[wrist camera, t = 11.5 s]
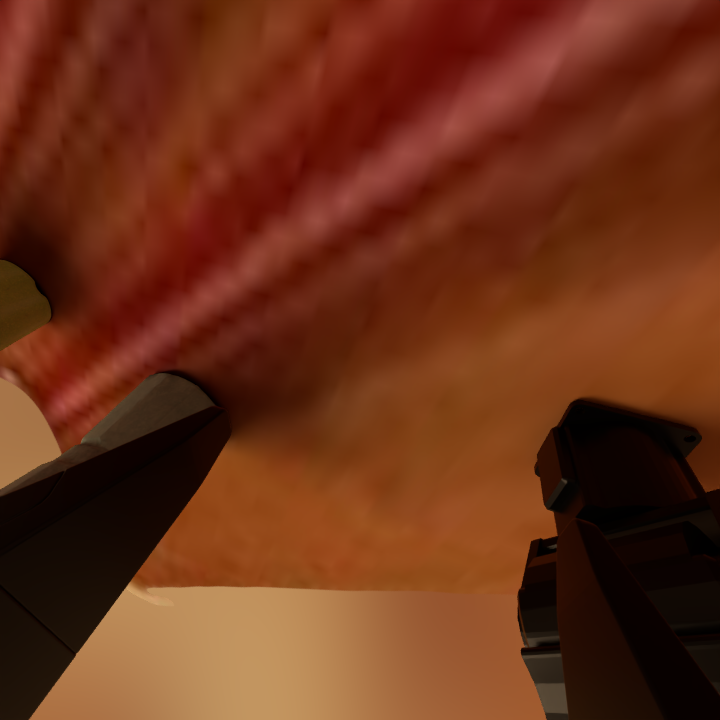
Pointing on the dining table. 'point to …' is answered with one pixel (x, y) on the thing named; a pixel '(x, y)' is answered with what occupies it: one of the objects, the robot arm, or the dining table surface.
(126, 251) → the dining table surface
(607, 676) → the robot arm
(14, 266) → the plant pot
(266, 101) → the dining table surface
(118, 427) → the moka pot
